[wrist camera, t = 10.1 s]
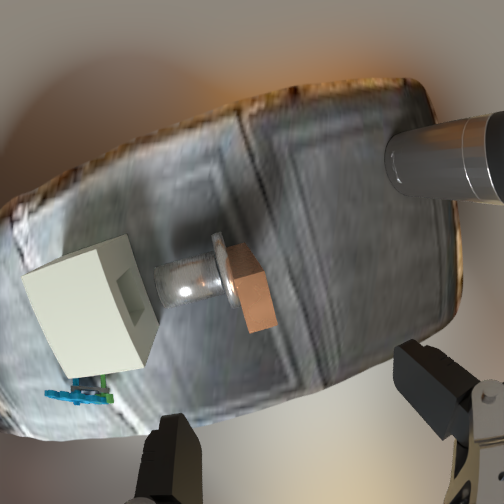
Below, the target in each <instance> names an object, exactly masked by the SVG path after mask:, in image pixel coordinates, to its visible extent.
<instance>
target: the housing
mask: <svg viewBox="0 0 504 504" xmlns="http://www.w3.org/2000/svg"><path fill="white" fill-rule="evenodd" d="M21 278H22V281H23V284H24V287H25V290H26V292H27V295H28V297H29V300H30V303H31V305H32V307H33V310H34V312H35V315H36V317H37V319H38V321H39V324H40V326H41V328H42V330H43V332H44V334H45V336H46V339H47V341H48V343H49V345H50V347H51V349H52V350H53V352H54V354H55V356H56V358H57V360H58V362H59V363H60V365H61V367H62V369H63V371H64V372H65V374H66V376H67V377H68V379H71V378H80V377H88V376H96V375H103V374H109V373H116V372H122V371H128V370H134V369H139V368H145V365H146V362H147V359H148V356H149V353H150V350H151V347H152V345H153V342H154V339H155V336H156V334H157V331H158V328H159V323H158V321H157V318H156V316H155V313H154V311H153V308H152V306H151V303H150V300H149V298H148V295H147V292H146V290H145V287H144V284H143V281H142V278H141V276H140V273H139V270H138V267H137V264H136V261H135V258H134V255H133V252H132V248H131V245H130V242H129V239H128V235H127V234H125V235H122V236H119V237H116V238H113V239H110V240H107V241H104V242H101V243H98V244H95V245H92V246H89V247H86V248H84V249H81V250H78V251H75V252H72V253H70V254H67V255H64V256H62V257H59V258H57V259H55V260H53V261H51V262H49V263H47V264H45V265H43V266H41V267H39V268H37V269H35V270H33V271H31V272H29V273H27V274H25V275H23V276H21Z"/></svg>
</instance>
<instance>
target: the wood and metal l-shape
mask: <svg viewBox="0 0 504 504" xmlns="http://www.w3.org/2000/svg"><path fill="white" fill-rule="evenodd" d="M211 236H212V242H213V246H214V251H215V254H214V252H213V251H210V252H207V253H203V254H200V255H196V256H193V257H189V258H185V259H182V260H178V261H175V262H171V263H168V264H164V265H161V266H157V267H155V269H154V280H155V285H156V289H157V293H158V296H159V298H160V300H161V302H162V304H163V306H164V307H165V308H166V309H170V308H174V307H178V306H181V305H185V304H189V303H193V302H197V301H200V300H204V299H208V298H211V297H215V296H219V295H222V294H225V290H226V293H227V297H228V300H229V302H230V305H231V308H232V309H233V308H237V307H240V306H242V310H243V313H244V316H245V320H246V323H247V327H248V330H249V333H253V332H256V331H260V330H263V329H266V328H270V327H273V326H276V325H278V324H277V320H276V316H275V312H274V308H273V304H272V300H271V296H270V292H269V288H268V284H267V280H266V276H265V272H264V270H263V268H262V267H261V265H260V264H259V262H258V261H257V259H256V258H255V256H254V255H253V253H252V252H251V251H250V249H249V248H248V246H247V245H246V243H241V244H237V245H234V246H230V247H226V246H225V243H224V239H223V236H222V232H218V233H214V234H211ZM215 255H216V257H215ZM216 259H217V260H216ZM217 262H218V264H217ZM218 266H219V267H218ZM220 273H221V274H220ZM221 277H222V278H221ZM222 280H223V282H222ZM223 284H224V286H223ZM224 287H225V290H224Z"/></svg>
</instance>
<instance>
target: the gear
mask: <svg viewBox="0 0 504 504" xmlns="http://www.w3.org/2000/svg"><path fill="white" fill-rule="evenodd" d="M100 376H101V388H99V387H84V386H79V378H73V386H71V393H69V392H65V391H60V392H57V391H54V390H48V391H47V390H45V396H47V397H49V398H54V399H57V400H63V401H69V402H73V404H74V405H80V403H85V404H90V403H94V404H108V403H114V399H113V394H109V388H106V381H105V374H103V375H100ZM81 390H85V391H98V393H100V394H95V395H85V394H82V393H81Z"/></svg>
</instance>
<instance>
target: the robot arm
mask: <svg viewBox="0 0 504 504" xmlns="http://www.w3.org/2000/svg"><path fill="white" fill-rule="evenodd" d="M385 166H386V171H387V174H388V177H389V179H390V181H391V183H392V184H393V186H394V187H395V188H396V189H397V190H398V191H399V192H400V193H402V194H403V195H406V196H410V197H424V198H435V199H447V200H457V201H468V202H478V203H485V204H495V205H503V206H504V111H501V112H496V113H491V114H485V115H479V116H473V117H469V118H464V119H459V120H454V121H449V122H445V123H440V124H435V125H431V126H427V127H422V128H418V129H414V130H410V131H406V132H402V133H399V134H396V135H395V136H394V137H392V139H391V140H390V141H389V143H388V145H387V148H386V152H385ZM393 381H394V384H395V386H396V388H397V390H398V391H399V392H400V393H401V394H402V395H403V396H404V398H405V399H406V400H407V401H408V402H409V403H410V404H411V405H412V407H413V408H414V409H415V410H416V411H417V412H418V413H419V415H420V416H421V417H422V418H423V419H424V420H425V421H426V423H427V424H428V425H429V426H430V427H431V428H432V429H433V430H434V432H435V433H436V434H437V435H438V436H439V437H440V438H441V439H442V440H444V439H446V438H447V437H448V436H450V435H453V436H454V437H455V440H454V448H453V460H452V470H451V478H450V484H449V487H448V490H447V493H446V495H445V498H444V502H443V504H504V382H503V383H501V382H499V381H497V380H484V381H482V382H481V381H480V380H478V379H477V378H476V377H474V376H473V375H472V374H470V373H469V372H468V371H467V370H465V369H464V368H463V367H462V366H460V365H459V364H458V363H456V362H454V360H452V359H451V358H450V357H447V355H446V354H445V353H443V352H442V351H441V350H439V349H437V348H434V347H431V346H428V345H426V346H424V347H423V346H422V345H421V344H419V343H418V342H417V341H416V340H414V339H411V340H409V341H407V342H405V343H403V344H401V345H398V346H396V347H395V348H394V363H393ZM141 462H142V463H141V464H140V469H139V474H138V480H137V485H136V491H135V496H134V498H133V499H131V500H128V501H127V502H126V503H124V504H203V493H202V449H201V445H200V442H199V439H198V437H197V436H196V434H195V432H194V431H193V429H192V427H191V426H190V424H189V422H188V421H187V419H186V417H185V416H184V414H182V413H178V414H171V415H164V416H162V417H161V419H160V424H159V430H152V431H151V433H150V434H149V436H148V437H147V439H146V440H145V444H144V448H143V454H142V458H141Z"/></svg>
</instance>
